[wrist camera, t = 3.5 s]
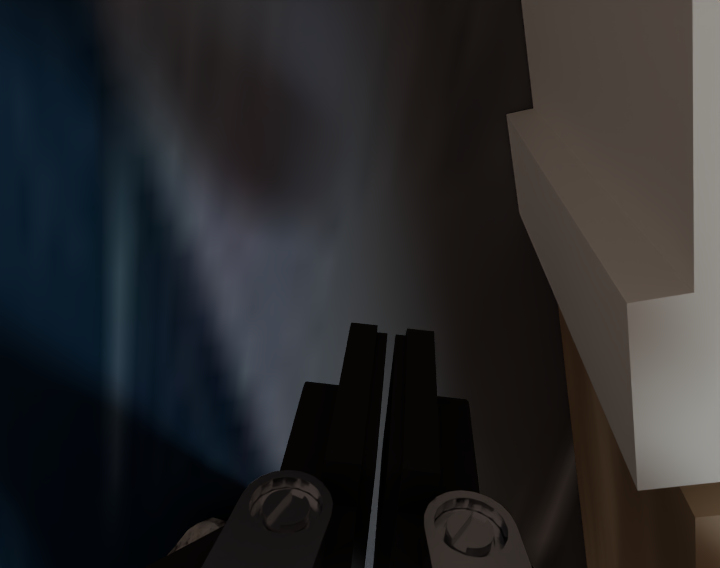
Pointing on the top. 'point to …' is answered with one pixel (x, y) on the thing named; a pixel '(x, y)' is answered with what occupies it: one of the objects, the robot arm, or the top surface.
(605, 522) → the door
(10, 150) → the top surface
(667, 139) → the door frame
